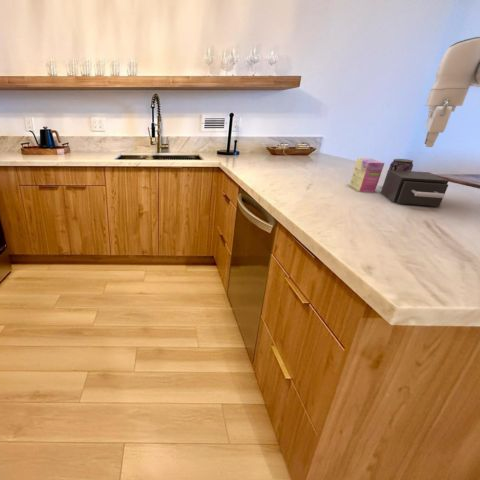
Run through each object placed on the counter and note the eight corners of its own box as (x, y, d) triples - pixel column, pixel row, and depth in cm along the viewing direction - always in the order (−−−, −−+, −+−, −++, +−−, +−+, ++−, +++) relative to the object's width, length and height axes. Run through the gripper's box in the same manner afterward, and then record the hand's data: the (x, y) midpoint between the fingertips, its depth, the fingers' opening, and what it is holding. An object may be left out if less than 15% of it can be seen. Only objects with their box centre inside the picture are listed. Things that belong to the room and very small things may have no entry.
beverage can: (387, 191, 115) (397, 161, 110) (379, 187, 122) (388, 158, 117) (407, 192, 114) (418, 161, 109) (398, 188, 120) (408, 158, 115)
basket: (446, 211, 90) (456, 188, 87) (403, 207, 94) (411, 185, 91) (422, 196, 106) (429, 176, 103) (385, 193, 110) (392, 174, 107)
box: (375, 193, 113) (384, 162, 108) (359, 192, 114) (368, 162, 109) (363, 186, 122) (372, 158, 117) (349, 186, 123) (356, 158, 118)
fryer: (437, 207, 97) (448, 180, 93) (392, 203, 101) (401, 177, 97) (419, 196, 109) (428, 172, 105) (380, 193, 113) (388, 169, 109)
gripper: (463, 98, 81) (443, 149, 87) (454, 100, 96) (438, 143, 102) (434, 99, 85) (416, 147, 91) (430, 100, 100) (415, 142, 105)
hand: (428, 145), depth 96 cm, fingers open, 8 cm apart
